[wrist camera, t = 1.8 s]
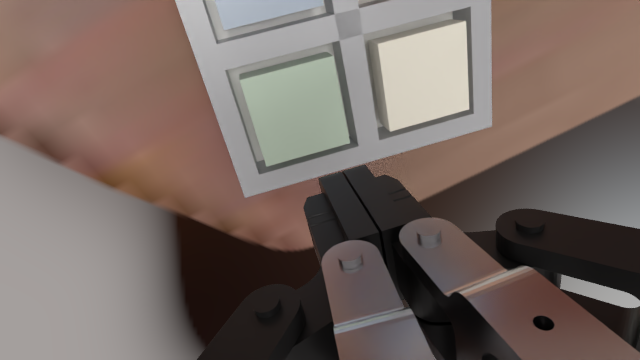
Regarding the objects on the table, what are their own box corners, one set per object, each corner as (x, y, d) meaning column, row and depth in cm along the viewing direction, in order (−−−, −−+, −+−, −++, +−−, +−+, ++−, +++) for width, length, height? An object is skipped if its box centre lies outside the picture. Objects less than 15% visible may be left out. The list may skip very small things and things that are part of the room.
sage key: (326, 51, 22) (333, 55, 20) (342, 133, 24) (350, 143, 22) (239, 74, 21) (239, 80, 20) (264, 155, 24) (266, 166, 22)
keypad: (445, -175, 21) (489, -210, 17) (459, 109, 28) (492, 126, 24) (146, -110, 19) (127, -134, 16) (243, 170, 27) (245, 197, 23)
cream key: (450, 19, 22) (466, 20, 21) (454, 102, 25) (469, 109, 23) (367, 40, 22) (377, 44, 20) (380, 123, 24) (390, 131, 23)
